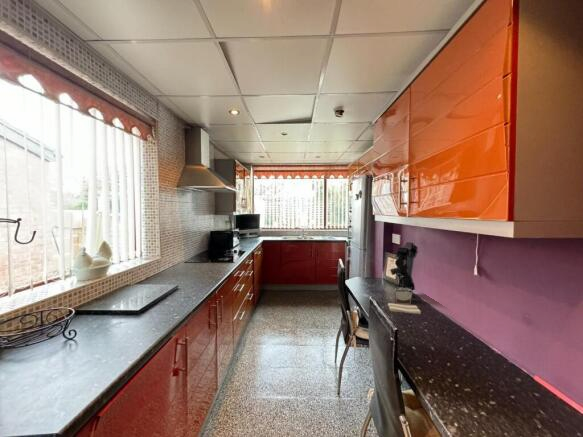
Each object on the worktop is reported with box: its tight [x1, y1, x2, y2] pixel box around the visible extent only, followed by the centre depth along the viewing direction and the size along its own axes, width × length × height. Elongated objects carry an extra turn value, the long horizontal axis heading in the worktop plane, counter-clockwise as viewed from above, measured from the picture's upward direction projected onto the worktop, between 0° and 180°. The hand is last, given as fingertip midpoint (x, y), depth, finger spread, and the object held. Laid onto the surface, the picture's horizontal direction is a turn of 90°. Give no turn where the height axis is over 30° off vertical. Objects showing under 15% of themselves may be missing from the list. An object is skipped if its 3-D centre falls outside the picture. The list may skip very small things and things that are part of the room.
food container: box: [394, 286, 414, 305], centre depth 187 cm, size 12×6×10 cm, turn 84°
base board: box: [387, 302, 422, 315], centre depth 174 cm, size 12×18×1 cm, turn 79°
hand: (402, 286), depth 187 cm, fingers open, 9 cm apart
